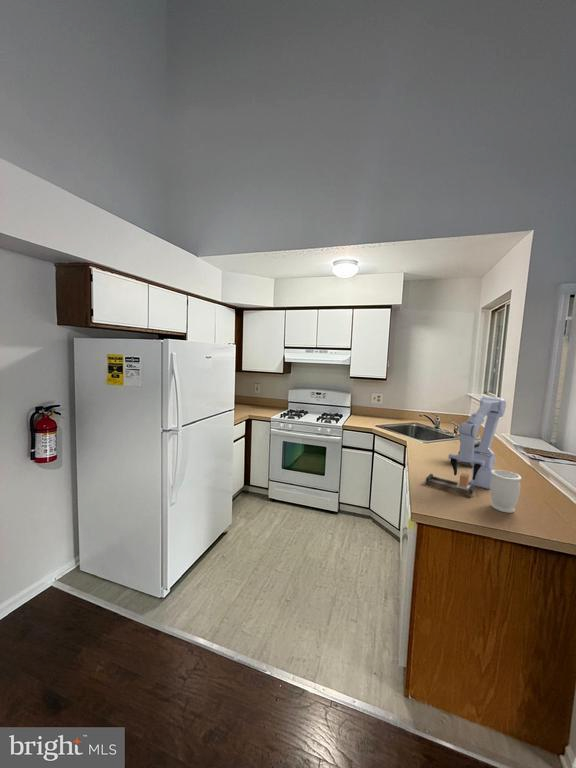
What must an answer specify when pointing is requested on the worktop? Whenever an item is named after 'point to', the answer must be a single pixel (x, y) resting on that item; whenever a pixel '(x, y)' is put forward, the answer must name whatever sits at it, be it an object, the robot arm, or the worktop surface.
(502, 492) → the jar
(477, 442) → the apothecary jar
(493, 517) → the worktop surface
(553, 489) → the worktop surface
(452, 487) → the rail board
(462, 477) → the block
